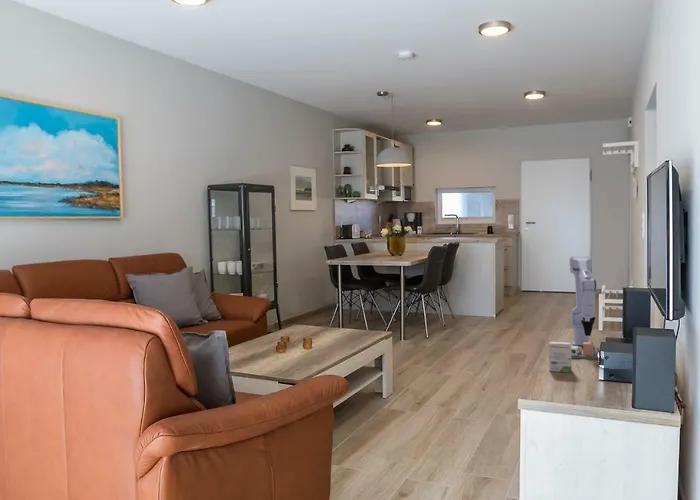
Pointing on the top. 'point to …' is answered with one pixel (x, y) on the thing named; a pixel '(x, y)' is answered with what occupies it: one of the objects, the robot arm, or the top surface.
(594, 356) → the deck
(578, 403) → the top surface
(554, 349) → the ink box
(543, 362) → the top surface
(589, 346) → the block
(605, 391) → the top surface
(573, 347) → the cover
